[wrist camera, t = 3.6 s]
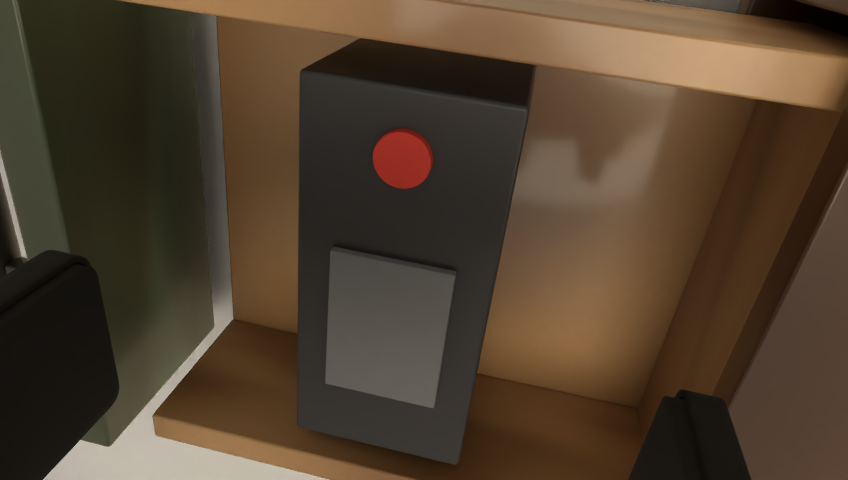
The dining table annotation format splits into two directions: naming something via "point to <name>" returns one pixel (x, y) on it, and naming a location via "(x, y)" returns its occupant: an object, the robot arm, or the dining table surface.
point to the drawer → (525, 233)
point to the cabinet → (799, 316)
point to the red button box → (401, 237)
